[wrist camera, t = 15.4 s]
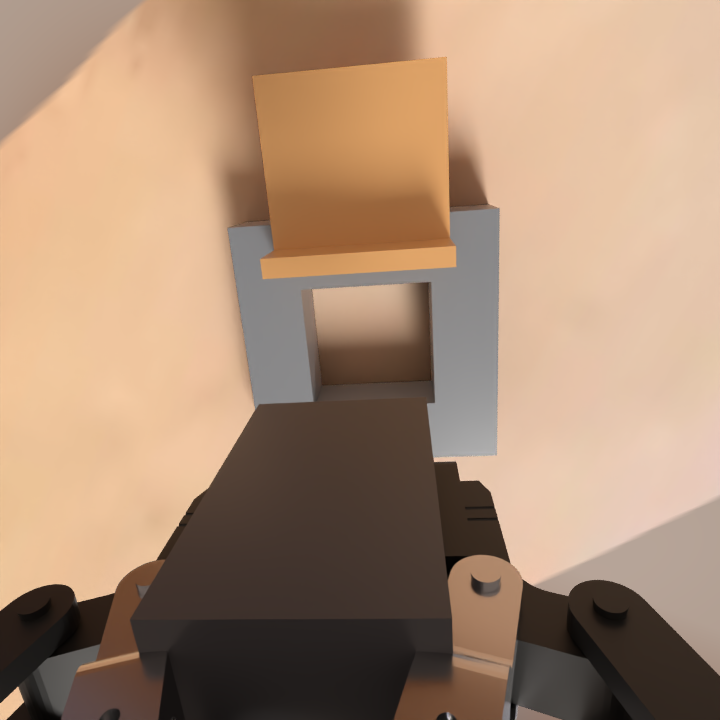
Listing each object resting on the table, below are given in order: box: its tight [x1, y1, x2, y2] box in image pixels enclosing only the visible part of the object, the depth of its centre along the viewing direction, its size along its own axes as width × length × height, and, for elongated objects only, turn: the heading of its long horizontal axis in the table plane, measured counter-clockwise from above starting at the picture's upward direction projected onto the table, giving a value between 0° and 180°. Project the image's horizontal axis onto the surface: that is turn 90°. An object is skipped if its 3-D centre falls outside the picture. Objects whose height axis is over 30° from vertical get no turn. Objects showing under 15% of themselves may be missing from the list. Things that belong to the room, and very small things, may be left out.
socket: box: [228, 204, 499, 457], centre depth 27 cm, size 12×12×3 cm
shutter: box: [252, 57, 456, 279], centre depth 21 cm, size 8×8×3 cm
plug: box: [130, 397, 453, 720], centre depth 12 cm, size 4×4×8 cm
